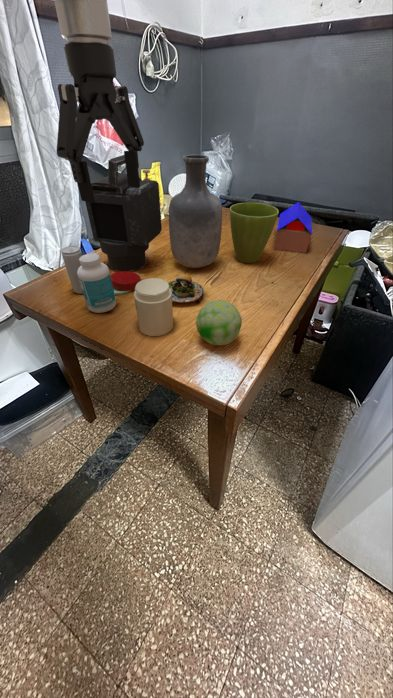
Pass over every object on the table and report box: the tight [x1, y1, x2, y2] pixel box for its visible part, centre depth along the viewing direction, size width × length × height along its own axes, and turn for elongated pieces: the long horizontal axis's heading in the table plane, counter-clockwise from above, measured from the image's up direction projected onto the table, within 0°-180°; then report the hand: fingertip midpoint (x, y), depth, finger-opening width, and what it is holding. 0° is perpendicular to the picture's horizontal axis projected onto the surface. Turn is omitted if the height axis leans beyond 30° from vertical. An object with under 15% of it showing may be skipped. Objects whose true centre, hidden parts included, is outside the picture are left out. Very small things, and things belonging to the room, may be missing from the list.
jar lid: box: [110, 271, 142, 291], centre depth 83 cm, size 9×9×2 cm
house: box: [273, 201, 313, 254], centre depth 107 cm, size 12×20×12 cm, turn 164°
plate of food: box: [167, 270, 205, 304], centre depth 77 cm, size 12×12×8 cm
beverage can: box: [60, 245, 84, 295], centre depth 78 cm, size 5×5×12 cm
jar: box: [133, 277, 174, 337], centre depth 66 cm, size 8×8×11 cm
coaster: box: [113, 288, 133, 296], centre depth 83 cm, size 8×8×1 cm
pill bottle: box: [77, 253, 117, 314], centre depth 71 cm, size 8×7×14 cm
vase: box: [168, 153, 223, 269], centre depth 85 cm, size 16×16×30 cm
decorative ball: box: [195, 299, 243, 346], centre depth 62 cm, size 10×10×10 cm
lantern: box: [84, 154, 163, 272], centre depth 85 cm, size 15×18×30 cm
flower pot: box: [229, 202, 280, 264], centre depth 93 cm, size 15×15×16 cm
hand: (113, 193), depth 59 cm, fingers open, 13 cm apart
